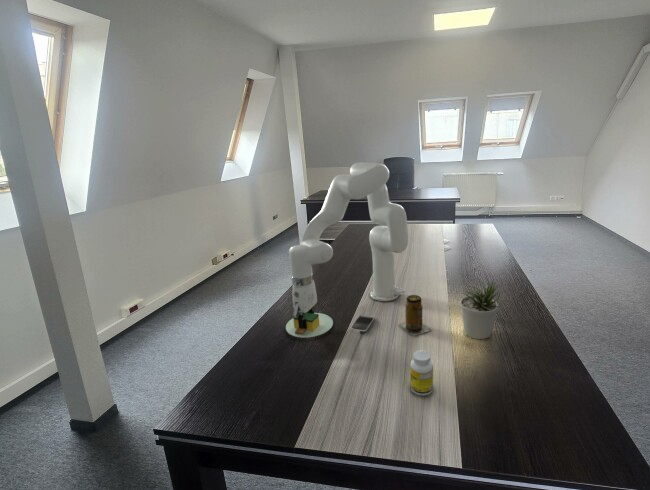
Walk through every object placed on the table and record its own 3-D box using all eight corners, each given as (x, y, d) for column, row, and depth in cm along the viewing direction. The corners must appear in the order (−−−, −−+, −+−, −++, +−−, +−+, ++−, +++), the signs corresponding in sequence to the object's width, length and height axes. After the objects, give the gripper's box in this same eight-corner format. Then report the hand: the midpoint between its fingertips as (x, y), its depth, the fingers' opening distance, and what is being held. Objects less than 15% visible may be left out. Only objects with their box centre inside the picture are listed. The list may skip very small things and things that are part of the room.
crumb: (306, 330, 133) (305, 327, 133) (302, 334, 130) (302, 332, 130) (298, 329, 134) (298, 327, 133) (295, 333, 131) (294, 331, 131)
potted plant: (480, 348, 119) (483, 293, 113) (451, 330, 130) (452, 278, 125) (507, 337, 124) (511, 284, 118) (476, 320, 136) (479, 271, 130)
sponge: (319, 324, 136) (318, 314, 135) (313, 331, 132) (312, 320, 130) (301, 321, 139) (300, 311, 138) (294, 328, 135) (293, 317, 133)
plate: (340, 319, 142) (340, 316, 142) (319, 344, 126) (319, 341, 126) (301, 312, 149) (300, 310, 148) (276, 335, 133) (276, 332, 132)
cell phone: (349, 332, 133) (349, 328, 132) (360, 317, 142) (360, 314, 142) (365, 334, 130) (365, 331, 130) (375, 319, 140) (375, 316, 140)
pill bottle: (408, 382, 105) (407, 349, 102) (429, 380, 105) (429, 347, 102) (413, 397, 99) (413, 363, 96) (435, 395, 99) (436, 360, 96)
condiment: (416, 320, 138) (416, 291, 134) (430, 330, 131) (430, 300, 127) (400, 325, 135) (399, 296, 131) (413, 336, 128) (413, 305, 124)
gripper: (299, 290, 121) (304, 337, 126) (322, 271, 136) (326, 314, 141) (280, 287, 124) (285, 334, 129) (305, 269, 139) (309, 312, 144)
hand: (306, 323), depth 135 cm, fingers closed on sponge, 5 cm apart
